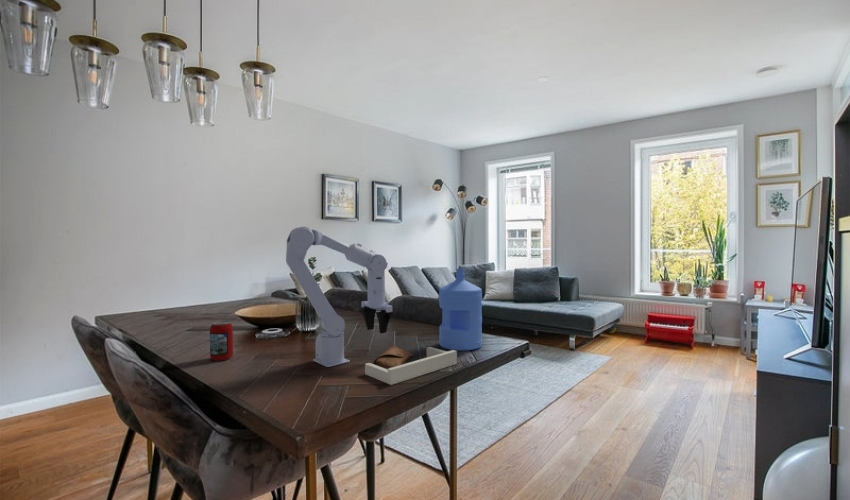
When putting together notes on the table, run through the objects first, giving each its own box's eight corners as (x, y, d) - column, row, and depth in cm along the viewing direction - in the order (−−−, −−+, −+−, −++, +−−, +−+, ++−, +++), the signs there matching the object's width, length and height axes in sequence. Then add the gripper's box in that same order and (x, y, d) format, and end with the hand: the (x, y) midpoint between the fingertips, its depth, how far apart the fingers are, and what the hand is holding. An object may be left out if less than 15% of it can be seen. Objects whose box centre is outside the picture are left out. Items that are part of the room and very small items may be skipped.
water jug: (460, 338, 157) (460, 266, 156) (491, 346, 145) (491, 269, 144) (430, 345, 147) (429, 268, 146) (460, 354, 135) (460, 271, 134)
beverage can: (205, 361, 129) (204, 324, 128) (220, 355, 135) (220, 319, 135) (223, 362, 127) (222, 324, 127) (237, 356, 134) (237, 320, 133)
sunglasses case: (399, 372, 117) (388, 351, 117) (380, 382, 118) (369, 362, 119) (414, 354, 134) (405, 337, 135) (397, 364, 136) (388, 346, 136)
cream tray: (365, 374, 115) (365, 360, 115) (429, 355, 133) (429, 343, 133) (391, 384, 106) (391, 370, 106) (456, 363, 124) (456, 351, 124)
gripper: (399, 291, 130) (399, 332, 130) (373, 287, 140) (373, 325, 141) (382, 293, 125) (382, 336, 125) (356, 289, 135) (356, 329, 136)
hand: (376, 331), depth 133 cm, fingers open, 6 cm apart
